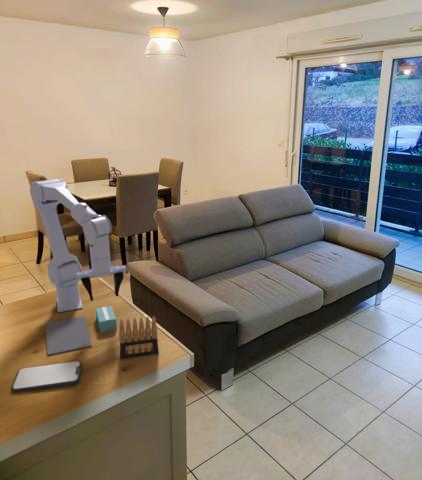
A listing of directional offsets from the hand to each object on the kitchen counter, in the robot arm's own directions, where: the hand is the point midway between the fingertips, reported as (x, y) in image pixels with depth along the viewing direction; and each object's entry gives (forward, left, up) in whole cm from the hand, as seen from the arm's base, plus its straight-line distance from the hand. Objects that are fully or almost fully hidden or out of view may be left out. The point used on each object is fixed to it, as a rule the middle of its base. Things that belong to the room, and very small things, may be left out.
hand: (104, 297), depth 121 cm
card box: (-1, 0, -10) cm, 10 cm away
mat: (+1, -12, -10) cm, 16 cm away
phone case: (+20, -18, -11) cm, 29 cm away
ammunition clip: (+19, +6, -10) cm, 23 cm away
